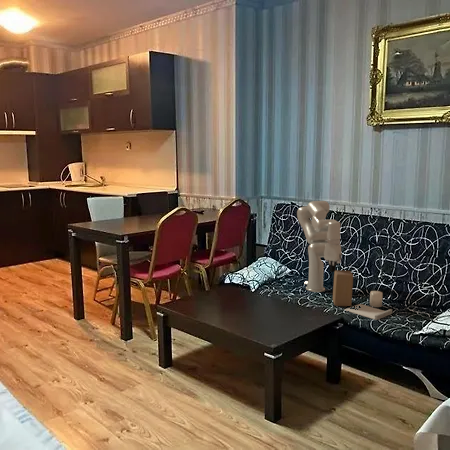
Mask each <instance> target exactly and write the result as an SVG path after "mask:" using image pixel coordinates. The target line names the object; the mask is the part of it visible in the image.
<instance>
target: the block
mask: <svg viewBox="0 0 450 450" xmlns="http://www.w3.org/2000/svg"><path fill="white" fill-rule="evenodd" d="M353 285H354V275H353V272H352V271H351V270H345V269H343V270H341V269H340V270H339V269H335V271H334V273H333V287H332V302H333V304H334V306H335V307H347V306H350V307H352V299H353V288H354V286H353Z"/></svg>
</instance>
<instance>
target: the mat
mask: <svg viewBox="0 0 450 450" xmlns="http://www.w3.org/2000/svg"><path fill="white" fill-rule="evenodd" d="M354 306H355V309H356V308H357V307H358V306H360V307H361V308H359V307H358V308H359V309H358V308H357V309H358V310H357V309H356V310H355V309H350V308H351V307H354ZM354 306H350V307H347V308H345V309H344V311H345V310H346V312H348V311H349V312H348V313H352V314H355V315H359V316H362V317H366V318H368V319H371V320H375V321H378V320H380V319H383V318H385V317H387V316H390V315H392V314H393V309H392V308H389V309H387V310H382V309H379V308H377V307H372V306H370V305H366V304H362V303H359V304H356V305H354ZM356 306H357V307H356Z"/></svg>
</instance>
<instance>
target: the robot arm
mask: <svg viewBox="0 0 450 450" xmlns="http://www.w3.org/2000/svg"><path fill="white" fill-rule="evenodd" d="M330 210H331V208H330V204H329V203H328V201H327V200H311V201H310V202H308V204H307V205H305V206H301V207H299V208H298V209H297V211H296V217H297V221H298V223H299V225H300V226H301V228H302V230H303V233H304V235H305V236H304V237H305V239H306V242H307V243H308V244H309V245H308V247H307V253H308V280H305V281H304V285H306V286H305V290H307V291H308V292H312V293H321V292H325V290H326V288H325V287H324V265H325V264H324V262H323V260H322V259H321V258H324V260H325V261H326V262H327V263H328V264H329V272H331V273H333V272H334V271H335V270H336V266H337V264H342V263H341V262H342V246H341V222H340V221H337V220H336V219H326V218H327V214H328V213H329V212H330Z"/></svg>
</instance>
